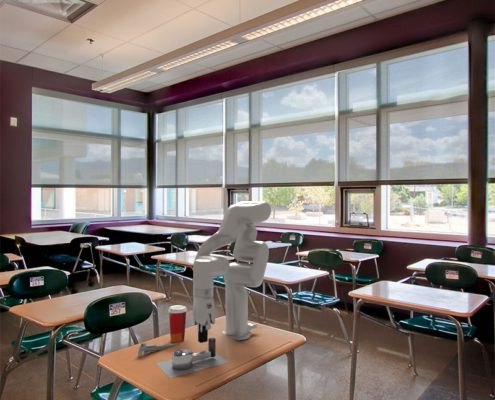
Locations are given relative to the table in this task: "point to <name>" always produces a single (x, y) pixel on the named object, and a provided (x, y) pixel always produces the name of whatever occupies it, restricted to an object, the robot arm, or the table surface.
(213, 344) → the metal crank handle
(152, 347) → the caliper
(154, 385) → the table surface
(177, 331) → the paper cup
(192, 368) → the stand
